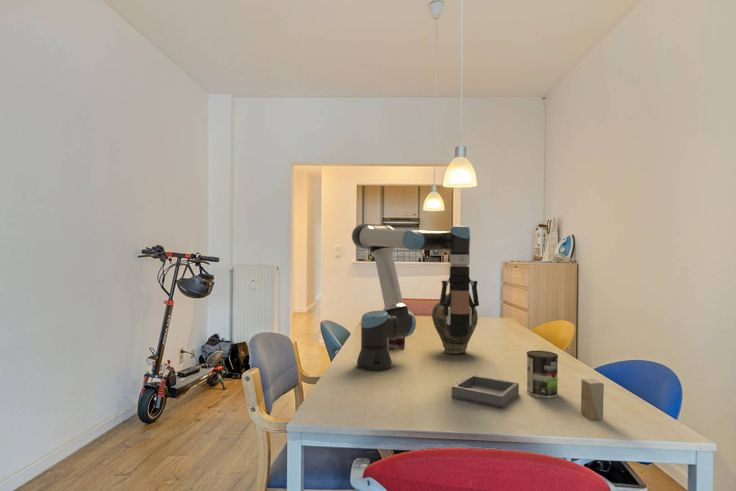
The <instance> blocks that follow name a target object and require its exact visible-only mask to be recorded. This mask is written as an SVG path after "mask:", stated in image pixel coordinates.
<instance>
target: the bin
mask: <svg viewBox="0 0 736 491" xmlns="http://www.w3.org/2000/svg"><path fill="white" fill-rule="evenodd" d="M519 392H520V383H519V382H515V381H509V380H504V379H497V378H492V377H486V376H480V375H474V374H470V375H469V376H467V377H465V378H464V379H462V380H460V381H458V382H457V383H455V384H453V385H452V386H451V399H452V400H453V399H454V400H459V401H464V402H468V403H473V404H475V405H476V404H477V405H481V406H485V407H486V406H487V407H490V408H496V409H499V410H500V409H501V410H503V409H504V408H505V407H506V406H508V405H509V404H510V403H511V402H513V400H514V399H516V397H518V396H519V394H520V393H519Z"/></svg>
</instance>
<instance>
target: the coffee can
mask: <svg viewBox="0 0 736 491" xmlns="http://www.w3.org/2000/svg"><path fill="white" fill-rule="evenodd" d="M558 359H559V355H558V354H557V353H555V352H552V351H546V350H528V351H526V392H527V394H529V395H530V396H532V397H537V398H543V399H554V398H557V397H558V394H559V393H558V387H559V386H558V378H559V377H558V372H559V371H558V369H559V368H558V361H559V360H558Z"/></svg>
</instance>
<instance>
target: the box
mask: <svg viewBox="0 0 736 491" xmlns="http://www.w3.org/2000/svg"><path fill="white" fill-rule="evenodd" d="M604 385H605V383H603V382H601V381H600V380H597V379H596V378H581V388H580V389H581V392H580V393H581V394H580V396H581V398H580V415H582V416H583V417H585V418H586V419H588V420H590V421H601V420H602V421H603V420H604V387H605V386H604Z"/></svg>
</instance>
